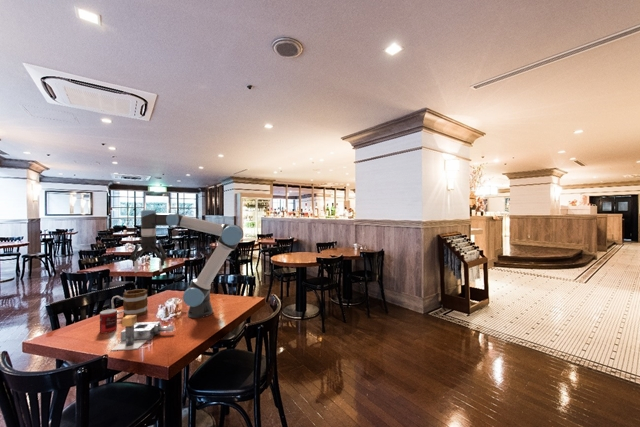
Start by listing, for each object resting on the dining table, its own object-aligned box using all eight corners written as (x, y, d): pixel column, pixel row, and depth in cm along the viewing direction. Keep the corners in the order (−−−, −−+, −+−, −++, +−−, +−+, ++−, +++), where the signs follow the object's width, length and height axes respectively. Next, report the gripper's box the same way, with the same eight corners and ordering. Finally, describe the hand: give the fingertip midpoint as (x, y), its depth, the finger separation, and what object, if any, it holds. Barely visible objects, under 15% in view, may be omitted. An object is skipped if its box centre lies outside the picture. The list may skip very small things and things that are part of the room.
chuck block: (176, 329, 157) (176, 319, 157) (168, 338, 145) (168, 328, 145) (133, 331, 154) (133, 322, 154) (120, 341, 142) (120, 330, 142)
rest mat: (146, 340, 143) (146, 339, 143) (137, 349, 134) (137, 348, 134) (121, 342, 142) (121, 341, 142) (110, 350, 133) (110, 349, 133)
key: (132, 346, 136) (132, 318, 136) (122, 347, 136) (122, 318, 136) (136, 342, 140) (136, 314, 140) (127, 342, 140) (127, 315, 140)
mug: (147, 309, 191) (147, 287, 191) (148, 315, 180) (148, 292, 180) (112, 315, 180) (112, 292, 180) (110, 322, 169) (110, 297, 169)
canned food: (105, 328, 160) (105, 309, 160) (120, 327, 160) (120, 308, 161) (96, 333, 152) (96, 313, 152) (111, 333, 153) (111, 313, 153)
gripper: (173, 235, 169) (173, 269, 169) (129, 235, 166) (129, 271, 166) (168, 236, 162) (168, 272, 162) (122, 236, 159) (122, 273, 159)
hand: (148, 271), depth 164 cm, fingers open, 13 cm apart
